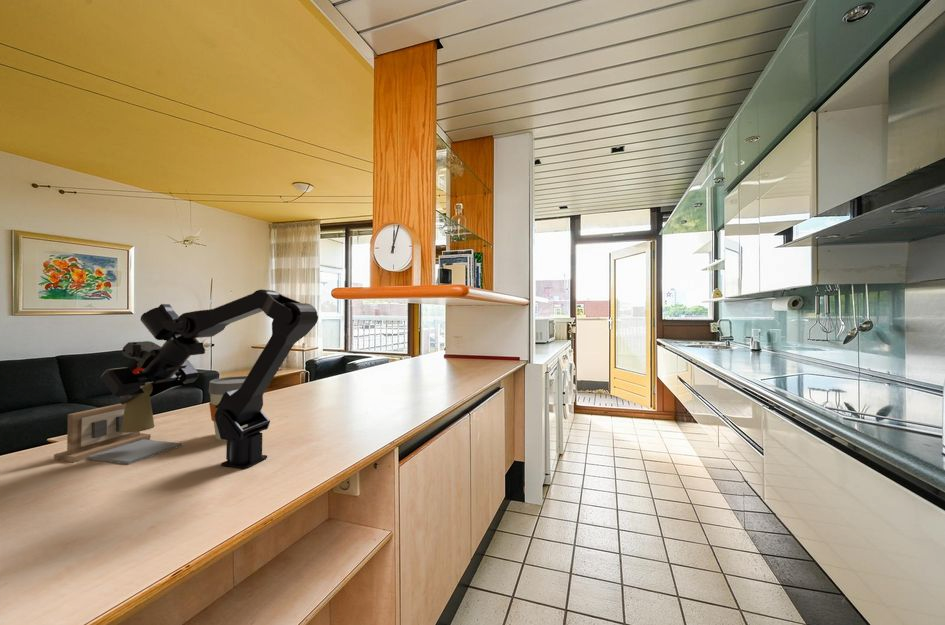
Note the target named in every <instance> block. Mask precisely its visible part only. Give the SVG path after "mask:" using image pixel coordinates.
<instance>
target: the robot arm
mask: <svg viewBox="0 0 945 625" xmlns="http://www.w3.org/2000/svg"><path fill="white" fill-rule="evenodd" d="M262 312H263V313H264V314H265V315H266V316H267V317H269V318H271V319H272V321H271V331H272V332H271V336H270V338H269V340H268V341H267V343H266V345H264V346H265V347H264V348H263V349H262V351H261V353H260V354H259V356H258V358H257V360H256V361H255V363H254V364H253V365H252V367H251V369H250V371H249V373H247V375H246V376H247V377H246V379H245V381H244V382H243V384H242V385H241V387H240V388H239V389H236V390H232V391H228V392H225V393H224V395H223V396H222V398H221V401H220V402H219V404H218V405H216V406H215V408H218V409H217V410H216V412H215V416H214V417H215V421H216V424H217V428H218V431H219V434H220V438H221V439H223V440H226V441H225V442H226V449H225V450H226V455H225V456H226V457H225V459H226V460H225V461H222V462H221V464H220V466H221V467H222V466H223V467H229V468H231V467H232V468H239V469H240V468H241V469H246V468H247V469H248V468H249V467H252V466H254V465H255V464H258V463H259V462H261V461H264V460H265V459H267V458H268V455H267V454H263V431H265V430H268V428H269V427H270V423H271V420H270V419H269V417H267V415H266V414H265V413H264V412H263V411H262V408H263V406H264V397H263V396H264V393H265V392H266V391H267V389H268V387H269V386H270V384H271V382H272V381H273V379H274V378H275V376H276V374H277V373H278V371H279V369H280V368H281V366H282V365H283V363H284V361H285V360H286V358H287V356H288V355H289V354H290V352H291V350H292V349H293V346H294V345H295V344H296V343H297V342H299V341H300V340H301V339H303V338H304V337H305V336H306V335H308V334H309V333H310V331H311V330H312V329H313V328H314V327H315V325H316V324H317V323H318V320H319V315H318V311H317V309H316V307H314V306H313V304H310V303H303V302H302V303H301V302H300V301H297V300H295V299H292V298H290V297H287V296H285V295H282V294H281V293H279V292H278V291H276V290H271V289H262V288H261V289H257V290H255V291H254V292H253V293H250V294H247V295H244V296H243V297H242V296H241V297H240V298H237V299H235V300H232V301H230V302H227V303H225V304H221V305H220V306H216V307H215V308H211V309H203V310H193V311H188V312H184V313H182V314H181V315H178V314H177V313H176V311H175V310H174V308H173V307H172V306H171V304H170V303H167V304H165V303H161V304H160V305H159V306H158V307H157V306H156V307H155V308H151V309H149V310H147V311H146V312H144V313H143V314H142V315H141V316H140V322H141V323H142V324H143V326H144V327H145V328H146V329H147V330H148V332H149V333H150V334H151V335H152V336H153V337H154V338H155V340H157V341H165V342H164V343H163V344H162V345H158V343H155V342H153V341H149V340H148V341H147V340H144V341H133V342H132V341H131V342H127V343H126V344H125V345H124V346H123V348H122V350H121V354H122V355H123V356H125V357H127V358H128V359H134V360H136V361H137V364H136V366H137V367H138V368H139V369H141V370H139V371H138V372H137V373H136V374H134V372H133V371H132V370H131V369H130V367H124V366H123V367H117V368H115V367H114V368H107V369H105V371H104V372H103V373H102V375H101V376H100V379H101V381H102V382H103V383H104V385H105V386H106V387H107V389H108V390H109V391H110V393H111V394H112V395H113V396H116V397H120V398H119V404H120V403H121V404H122V405H123V404H125V403H127V402H129V401H131V400H133V399H134V398H136V397H138V396H139V395H141V394H143V393H144V391H143V390H142V389H141V388H142V387H143V386H145V384H146V383H151V384H152V386H153V390H152V393H151V394H150V399H151V398H153V397H156V396H158V395H161V394H163V393H166V392H168V391H170V390H173V389H176V388H179V387H181V386H182V382H183V384H184V385H186V384H191V383H194V382H196V380H197V379H198V378H199V370H197V369H196V368H195V367H194V365H193V364H192V363H191V362H190V360H188V359H189V358H190V357H191V356H195V355H196V356H197V355H205V354H206V349H205V347H204V342H201V341H199V340H198V339H200V338H212V337H215V336H216V335H218V334H220V333H221V332H222V331H224V330H225V329H226V327H227V326H229V325H230V324H232V323H235V322H237V321H241V320H243V319H245V318H249V317H252V316H253V315H254V316H255V315H257V314H259V313H262ZM181 376H182V377H183V379H182V382H181V380H180V379H181ZM246 424H248V426H247V427H244V428H241V426H244V425H246Z"/></svg>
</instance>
